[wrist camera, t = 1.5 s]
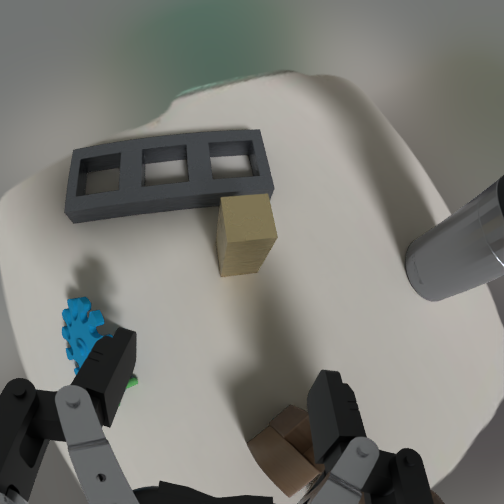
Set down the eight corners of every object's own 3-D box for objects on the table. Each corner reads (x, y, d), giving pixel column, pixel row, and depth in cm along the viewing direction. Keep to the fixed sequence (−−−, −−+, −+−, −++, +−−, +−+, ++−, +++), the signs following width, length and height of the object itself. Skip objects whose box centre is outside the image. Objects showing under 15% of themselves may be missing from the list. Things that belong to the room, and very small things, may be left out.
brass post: (251, 238, 35) (268, 193, 26) (257, 272, 34) (277, 237, 25) (215, 242, 34) (220, 197, 25) (220, 277, 33) (227, 242, 24)
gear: (49, 310, 27) (83, 284, 22) (93, 302, 32) (137, 277, 27) (81, 409, 26) (126, 415, 21) (123, 392, 31) (176, 390, 26)
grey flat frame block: (256, 144, 40) (259, 129, 37) (269, 201, 37) (274, 188, 34) (80, 163, 35) (73, 149, 32) (73, 223, 32) (64, 212, 30)
